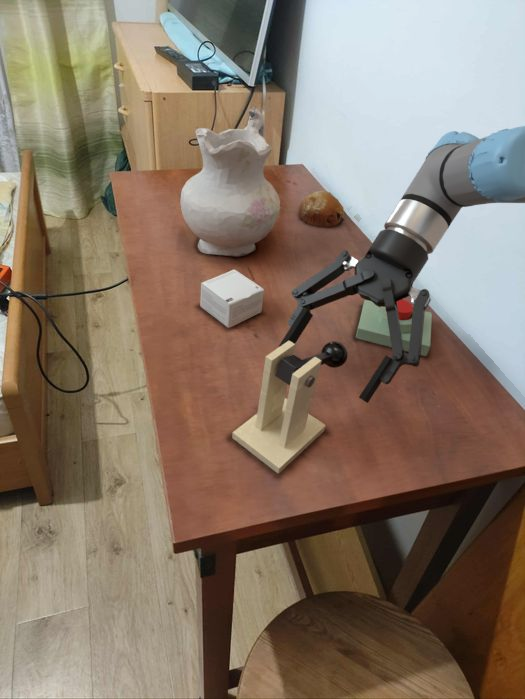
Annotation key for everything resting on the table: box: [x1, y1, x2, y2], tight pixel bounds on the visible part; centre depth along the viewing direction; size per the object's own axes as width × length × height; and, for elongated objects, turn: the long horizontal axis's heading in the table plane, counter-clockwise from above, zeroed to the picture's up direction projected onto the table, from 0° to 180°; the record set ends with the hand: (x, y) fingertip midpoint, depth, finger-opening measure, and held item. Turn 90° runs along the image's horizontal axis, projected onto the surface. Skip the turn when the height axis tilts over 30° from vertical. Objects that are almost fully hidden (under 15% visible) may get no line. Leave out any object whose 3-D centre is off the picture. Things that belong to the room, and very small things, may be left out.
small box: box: [199, 269, 265, 329], centre depth 87 cm, size 8×8×5 cm
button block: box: [355, 299, 433, 357], centre depth 88 cm, size 12×10×4 cm
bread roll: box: [298, 190, 346, 228], centre depth 118 cm, size 10×10×8 cm
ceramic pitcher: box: [179, 106, 281, 257], centre depth 99 cm, size 22×20×25 cm
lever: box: [275, 340, 349, 386], centre depth 65 cm, size 14×4×4 cm, turn 139°
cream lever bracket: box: [232, 341, 326, 474], centre depth 64 cm, size 10×8×14 cm
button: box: [397, 299, 413, 320], centre depth 86 cm, size 4×4×2 cm
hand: (321, 374), depth 70 cm, fingers open, 13 cm apart
